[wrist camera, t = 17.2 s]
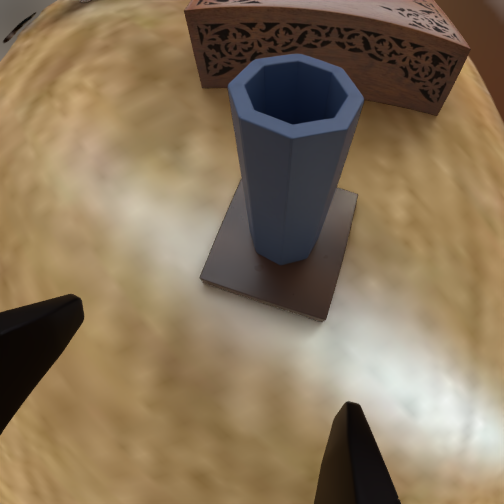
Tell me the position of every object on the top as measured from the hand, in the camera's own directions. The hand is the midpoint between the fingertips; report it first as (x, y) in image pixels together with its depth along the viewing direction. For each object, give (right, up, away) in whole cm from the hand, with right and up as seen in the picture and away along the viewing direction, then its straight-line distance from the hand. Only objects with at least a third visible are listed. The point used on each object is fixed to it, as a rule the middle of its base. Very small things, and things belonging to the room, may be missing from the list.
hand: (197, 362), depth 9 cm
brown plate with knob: (+4, +4, +14) cm, 16 cm away
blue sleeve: (+4, +5, +13) cm, 15 cm away
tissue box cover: (+10, +26, +22) cm, 36 cm away
